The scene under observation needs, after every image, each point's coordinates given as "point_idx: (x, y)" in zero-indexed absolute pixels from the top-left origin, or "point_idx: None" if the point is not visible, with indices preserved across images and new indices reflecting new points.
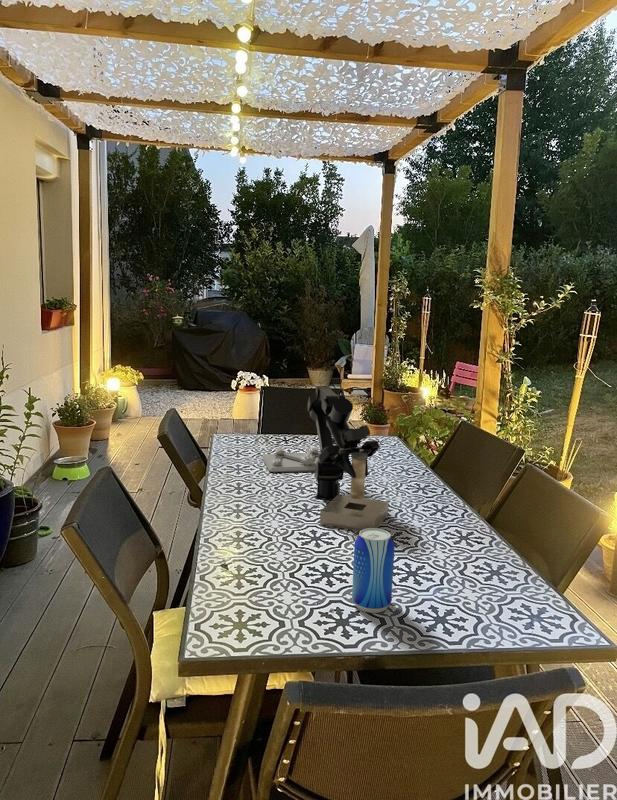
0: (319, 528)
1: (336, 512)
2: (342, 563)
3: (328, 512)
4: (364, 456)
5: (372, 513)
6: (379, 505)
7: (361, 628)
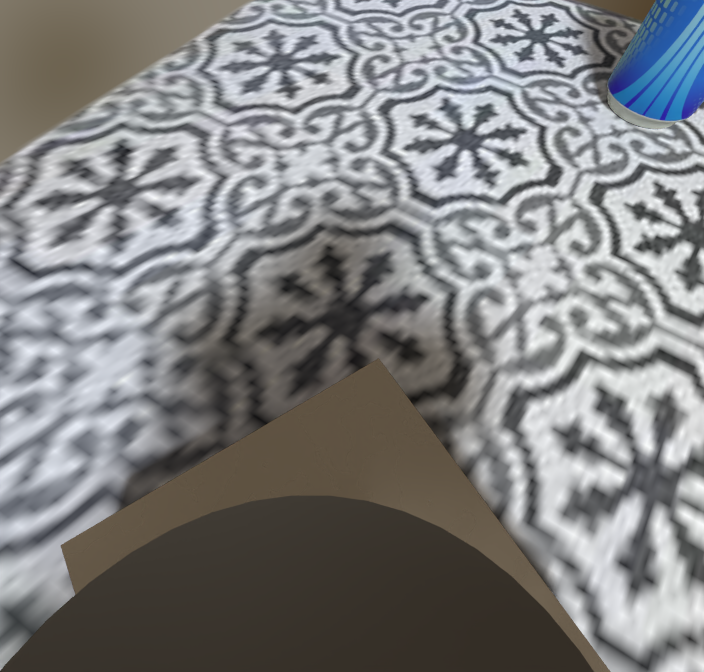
0: (589, 591)
1: (520, 574)
2: (627, 259)
3: (567, 616)
4: (311, 499)
5: (325, 432)
6: (171, 526)
7: None
